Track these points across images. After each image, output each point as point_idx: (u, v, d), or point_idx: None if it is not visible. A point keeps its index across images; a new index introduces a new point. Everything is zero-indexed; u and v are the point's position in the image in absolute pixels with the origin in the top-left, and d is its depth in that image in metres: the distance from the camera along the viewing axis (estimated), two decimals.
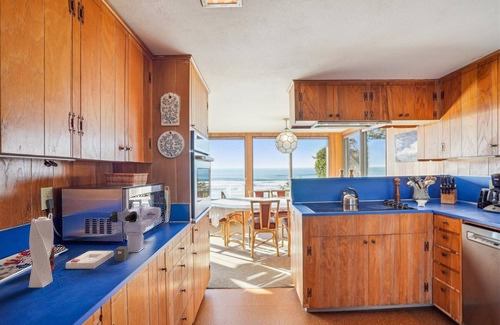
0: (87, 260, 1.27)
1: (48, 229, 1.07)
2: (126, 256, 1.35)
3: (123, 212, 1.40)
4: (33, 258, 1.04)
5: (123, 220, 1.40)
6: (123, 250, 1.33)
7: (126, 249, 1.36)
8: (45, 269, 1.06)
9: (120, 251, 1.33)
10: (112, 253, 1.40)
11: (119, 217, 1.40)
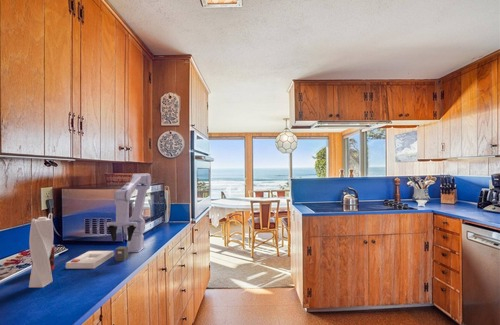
0: (87, 260, 1.27)
1: (48, 229, 1.07)
2: (126, 256, 1.35)
3: None
4: (33, 258, 1.04)
5: None
6: (123, 250, 1.33)
7: (126, 249, 1.36)
8: (45, 269, 1.06)
9: (120, 251, 1.33)
10: (112, 253, 1.40)
11: None
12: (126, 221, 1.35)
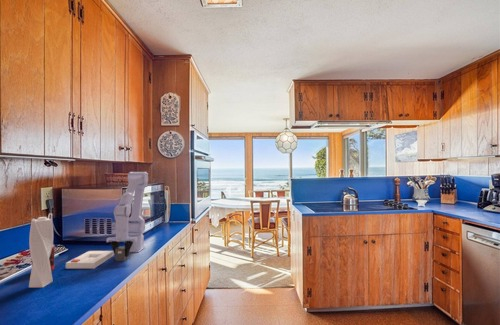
0: (87, 260, 1.27)
1: (48, 229, 1.07)
2: None
3: None
4: (33, 258, 1.04)
5: None
6: (123, 250, 1.33)
7: None
8: (45, 269, 1.06)
9: (120, 251, 1.33)
10: (112, 253, 1.40)
11: None
12: (126, 237, 1.35)
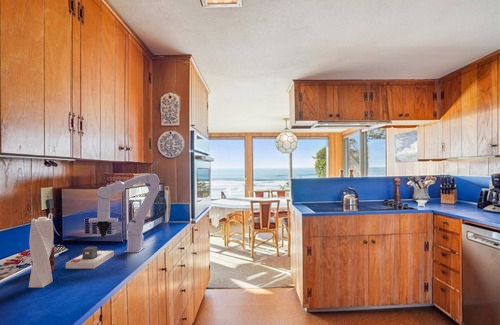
0: (87, 260, 1.27)
1: (48, 229, 1.07)
2: (94, 256, 1.31)
3: None
4: (33, 258, 1.04)
5: None
6: (91, 250, 1.29)
7: (94, 249, 1.31)
8: (45, 269, 1.06)
9: (88, 252, 1.29)
10: (112, 253, 1.40)
11: None
12: (107, 217, 1.40)
